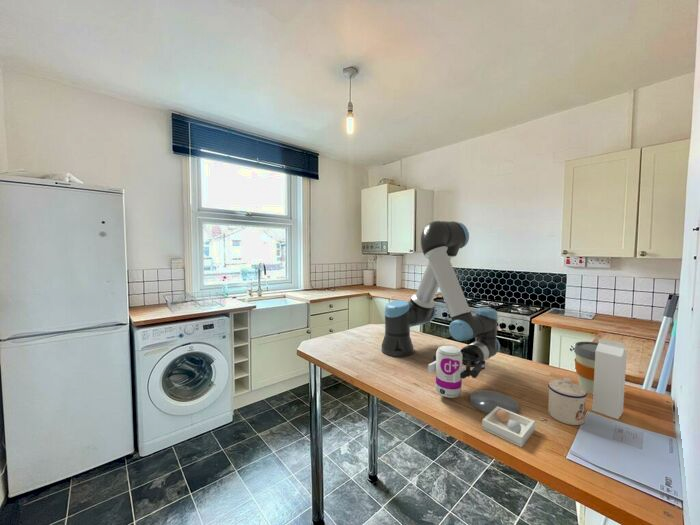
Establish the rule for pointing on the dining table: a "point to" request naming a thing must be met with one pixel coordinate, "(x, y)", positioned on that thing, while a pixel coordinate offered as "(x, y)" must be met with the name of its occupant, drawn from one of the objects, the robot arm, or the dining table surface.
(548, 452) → the dining table surface
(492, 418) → the ball dish
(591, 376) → the reusable coffee cup
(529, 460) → the dining table surface
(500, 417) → the ball terracotta
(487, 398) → the slate coaster
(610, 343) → the milk
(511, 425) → the ball grey
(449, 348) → the supplement can
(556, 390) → the teacup with lid
